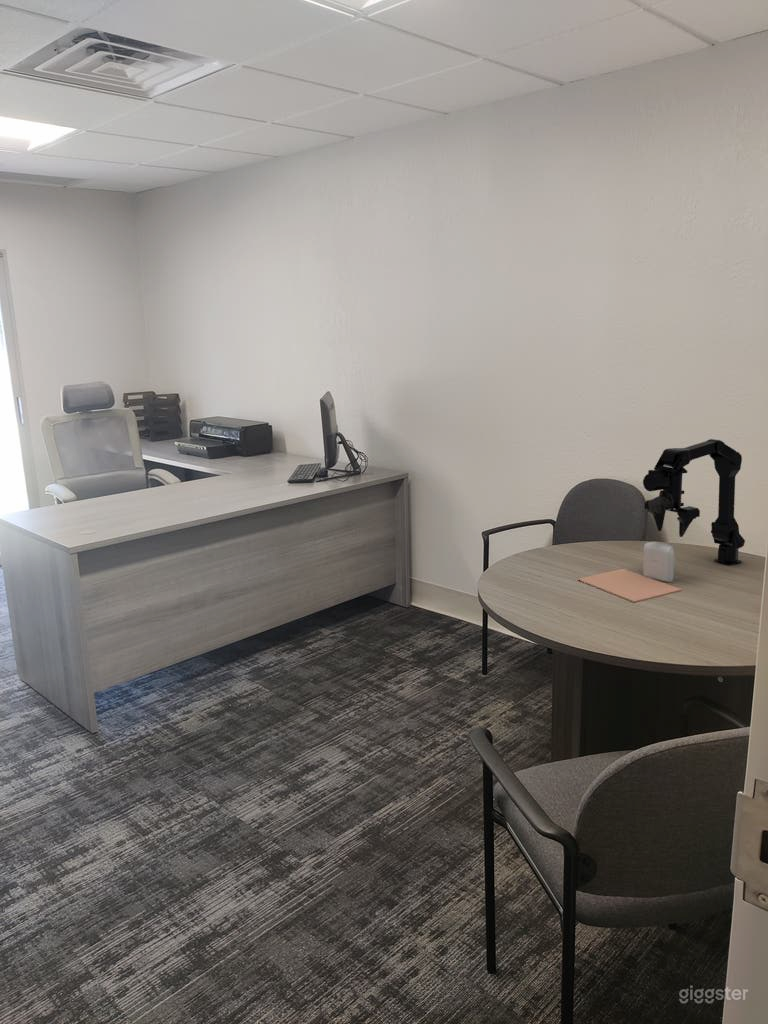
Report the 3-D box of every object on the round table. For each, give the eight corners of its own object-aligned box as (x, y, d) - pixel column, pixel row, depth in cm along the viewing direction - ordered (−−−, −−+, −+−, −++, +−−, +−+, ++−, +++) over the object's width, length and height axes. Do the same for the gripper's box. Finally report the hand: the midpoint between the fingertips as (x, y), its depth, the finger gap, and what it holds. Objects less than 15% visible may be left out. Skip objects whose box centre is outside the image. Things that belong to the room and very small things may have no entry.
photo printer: (640, 576, 259) (641, 541, 256) (647, 573, 261) (648, 538, 259) (668, 583, 251) (670, 547, 248) (675, 580, 254) (677, 544, 251)
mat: (623, 570, 266) (623, 568, 266) (681, 590, 244) (681, 589, 243) (577, 580, 258) (577, 578, 258) (634, 602, 235) (634, 601, 235)
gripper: (632, 486, 256) (631, 531, 260) (676, 495, 240) (674, 543, 243) (657, 482, 261) (655, 526, 264) (702, 491, 244) (699, 538, 248)
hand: (670, 533), depth 255 cm, fingers open, 9 cm apart
